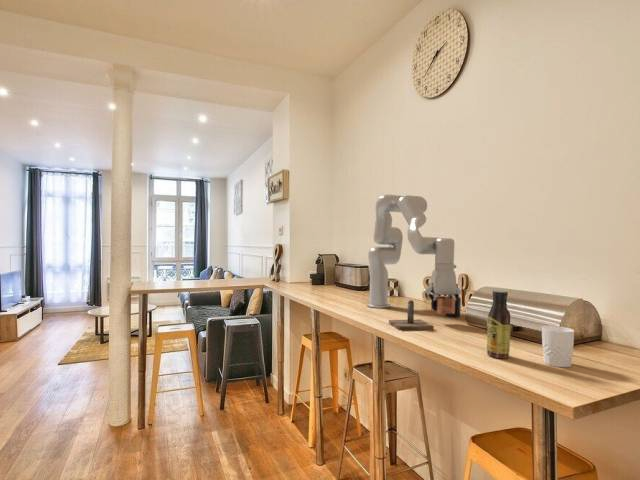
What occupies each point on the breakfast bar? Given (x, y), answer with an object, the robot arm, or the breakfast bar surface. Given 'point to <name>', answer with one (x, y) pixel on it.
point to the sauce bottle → (498, 326)
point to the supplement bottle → (456, 308)
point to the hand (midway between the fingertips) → (442, 309)
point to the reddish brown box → (445, 305)
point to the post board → (411, 326)
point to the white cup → (557, 345)
